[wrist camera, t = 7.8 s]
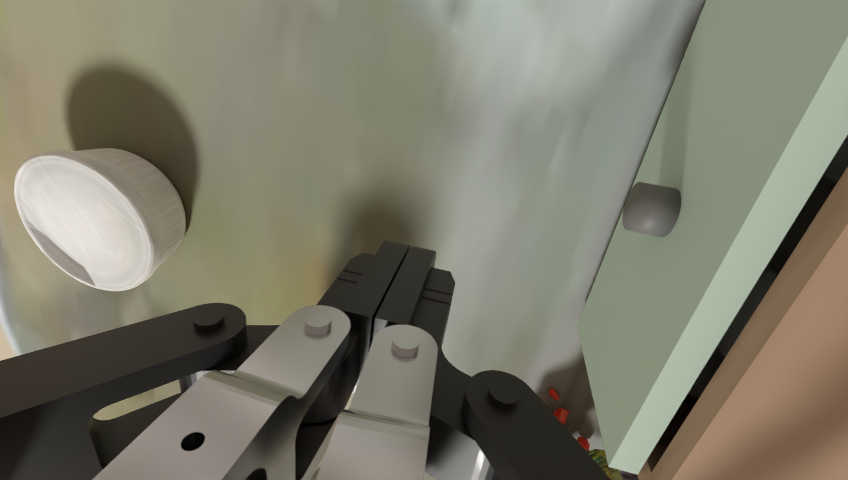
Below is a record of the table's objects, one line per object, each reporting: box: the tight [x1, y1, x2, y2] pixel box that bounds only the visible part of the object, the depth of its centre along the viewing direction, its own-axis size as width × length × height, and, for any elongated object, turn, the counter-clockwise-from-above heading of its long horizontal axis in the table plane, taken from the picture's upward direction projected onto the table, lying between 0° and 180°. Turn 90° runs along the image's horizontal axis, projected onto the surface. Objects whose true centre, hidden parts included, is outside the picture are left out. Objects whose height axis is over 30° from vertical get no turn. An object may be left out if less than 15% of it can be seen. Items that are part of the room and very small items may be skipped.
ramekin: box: [14, 148, 186, 291], centre depth 32 cm, size 11×11×5 cm
